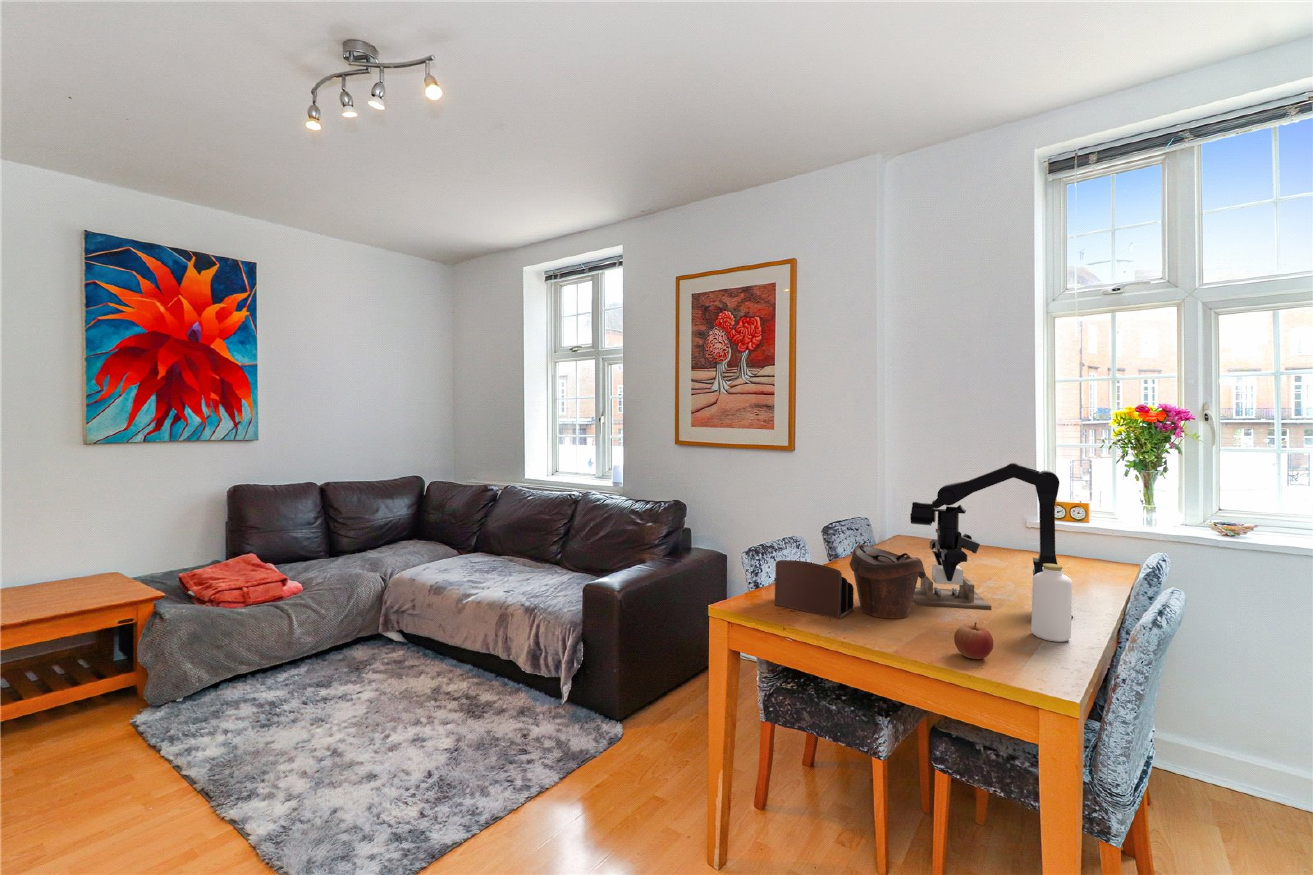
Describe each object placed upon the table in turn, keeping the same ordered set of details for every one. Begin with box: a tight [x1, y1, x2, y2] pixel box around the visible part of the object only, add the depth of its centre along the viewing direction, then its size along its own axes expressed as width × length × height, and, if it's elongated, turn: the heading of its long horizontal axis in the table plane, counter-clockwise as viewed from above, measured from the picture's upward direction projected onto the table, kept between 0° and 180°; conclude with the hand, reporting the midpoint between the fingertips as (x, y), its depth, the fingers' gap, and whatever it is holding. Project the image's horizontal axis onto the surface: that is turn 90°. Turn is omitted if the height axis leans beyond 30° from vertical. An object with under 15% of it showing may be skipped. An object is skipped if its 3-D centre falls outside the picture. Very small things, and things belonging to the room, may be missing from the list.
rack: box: [912, 575, 992, 610], centre depth 184 cm, size 16×20×6 cm
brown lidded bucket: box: [849, 543, 927, 620], centre depth 171 cm, size 18×20×18 cm
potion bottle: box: [1031, 563, 1073, 643], centre depth 152 cm, size 8×8×18 cm
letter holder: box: [774, 559, 855, 620], centre depth 174 cm, size 10×20×14 cm, turn 51°
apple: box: [953, 622, 994, 660], centre depth 139 cm, size 8×8×8 cm
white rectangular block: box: [931, 564, 964, 586], centre depth 184 cm, size 8×5×4 cm, turn 78°
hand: (947, 578), depth 184 cm, fingers closed on white rectangular block, 5 cm apart
